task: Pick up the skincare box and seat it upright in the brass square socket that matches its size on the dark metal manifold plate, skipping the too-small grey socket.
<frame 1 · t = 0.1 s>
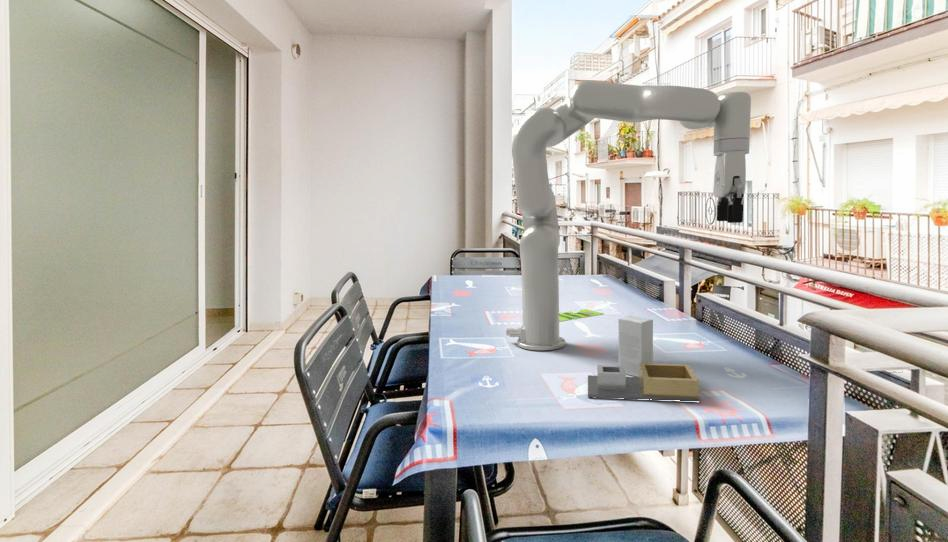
hand: (729, 221, 125), 31 cm above the table, tool pointing down, fingers open, 9 cm apart
manifold plate: (640, 390, 103), on the table
skincare box: (635, 374, 113), on the table
door hanger: (565, 318, 171), on the table
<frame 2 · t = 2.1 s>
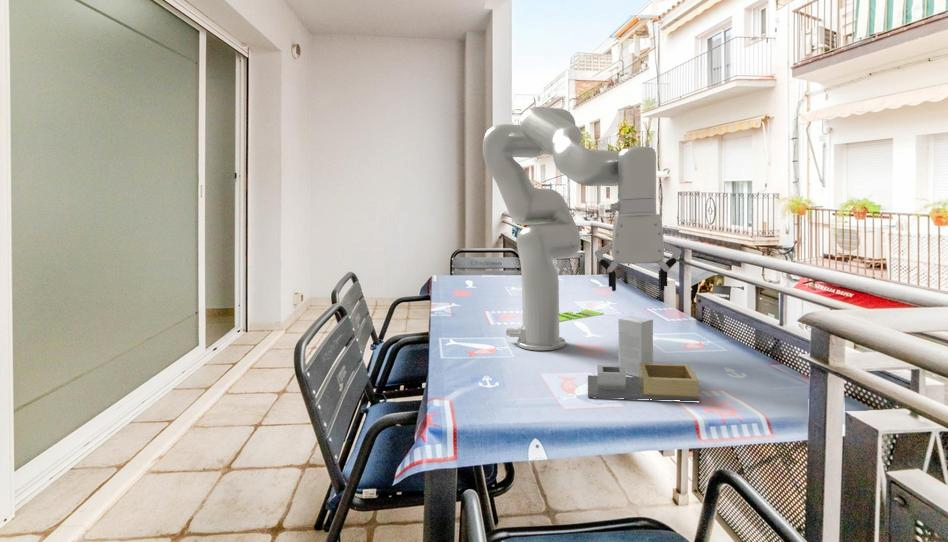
hand: (637, 290, 111), 18 cm above the table, tool pointing down, fingers open, 9 cm apart
nothing on the table moved.
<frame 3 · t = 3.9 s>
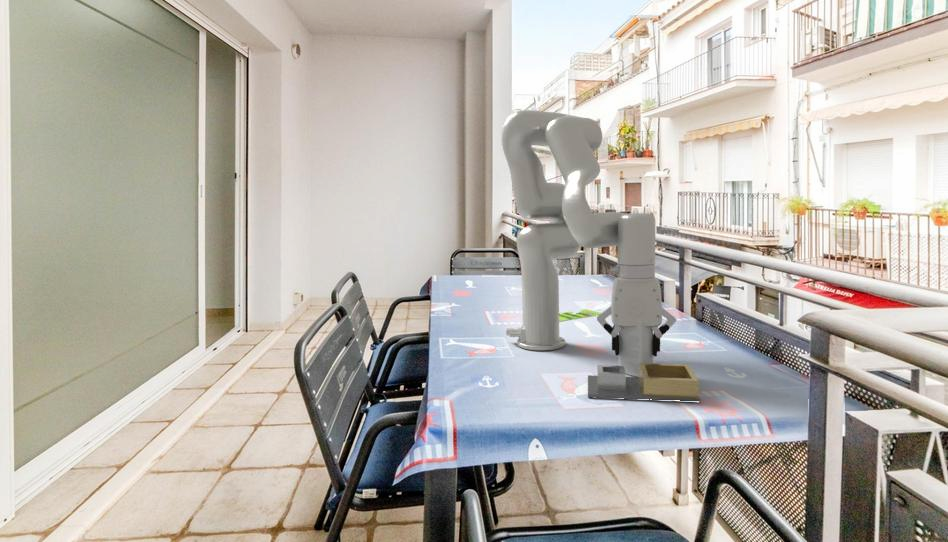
hand: (635, 353, 113), 4 cm above the table, tool pointing down, fingers closed on skincare box, 7 cm apart
skincare box: (635, 374, 113), on the table, touching gripper
everything else where it was.
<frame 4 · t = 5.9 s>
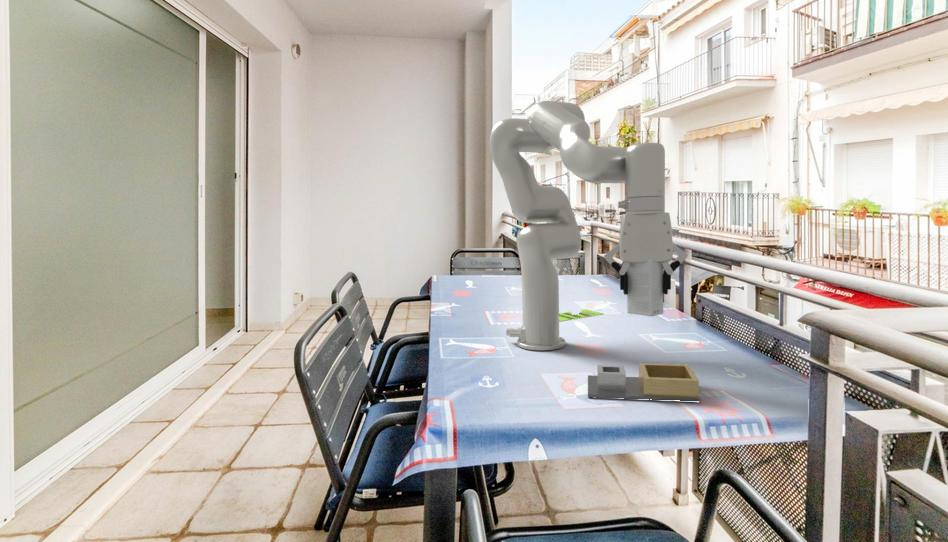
hand: (645, 292, 108), 18 cm above the table, tool pointing down, fingers closed on skincare box, 7 cm apart
skincare box: (644, 314, 108), point 14 cm above the table, touching gripper
everything else where it was.
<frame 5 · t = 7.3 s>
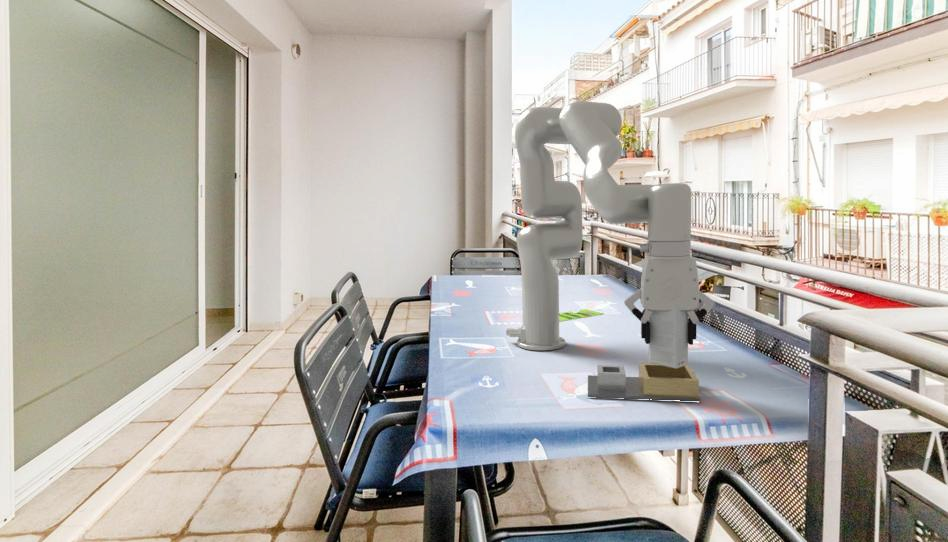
hand: (668, 341, 101), 10 cm above the table, tool pointing down, fingers closed on skincare box, 7 cm apart
skincare box: (667, 364, 101), point 5 cm above the table, touching gripper
everything else where it was.
when the fingers open (7 cm above the table, at t = 8.4 s): skincare box drops 1 cm, resting on manifold plate.
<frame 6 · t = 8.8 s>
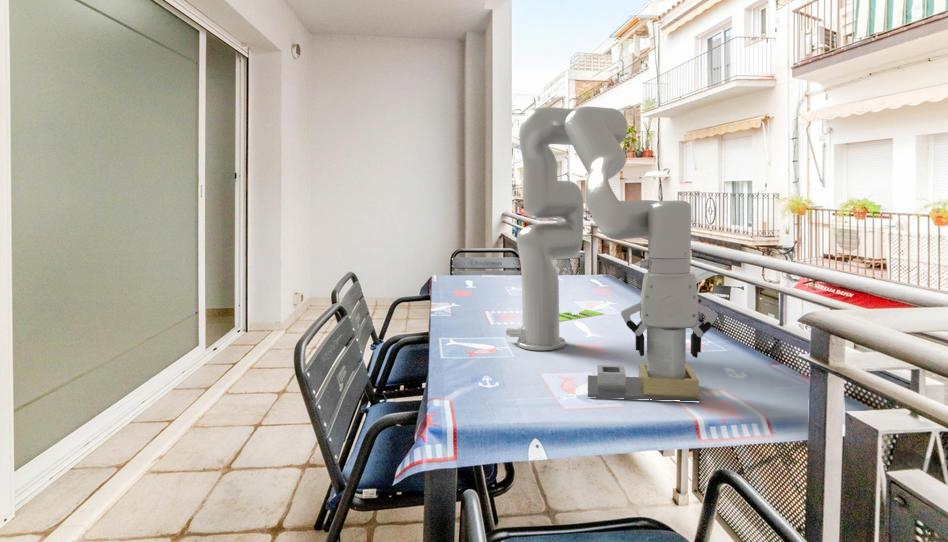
hand: (667, 354, 101), 7 cm above the table, tool pointing down, fingers open, 9 cm apart
skincare box: (665, 388, 102), point 1 cm above the table, touching manifold plate
everything else where it was.
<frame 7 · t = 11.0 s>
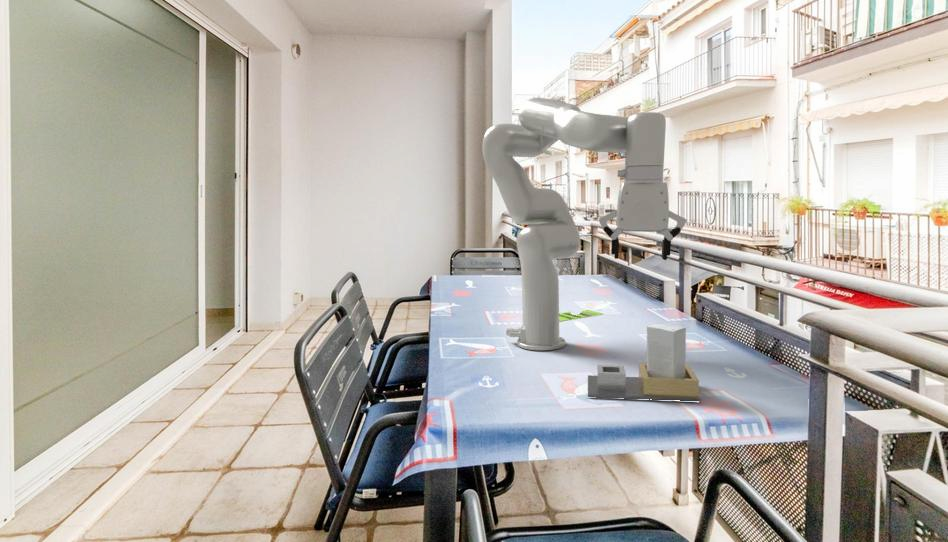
hand: (640, 258, 110), 25 cm above the table, tool pointing down, fingers open, 9 cm apart
nothing on the table moved.
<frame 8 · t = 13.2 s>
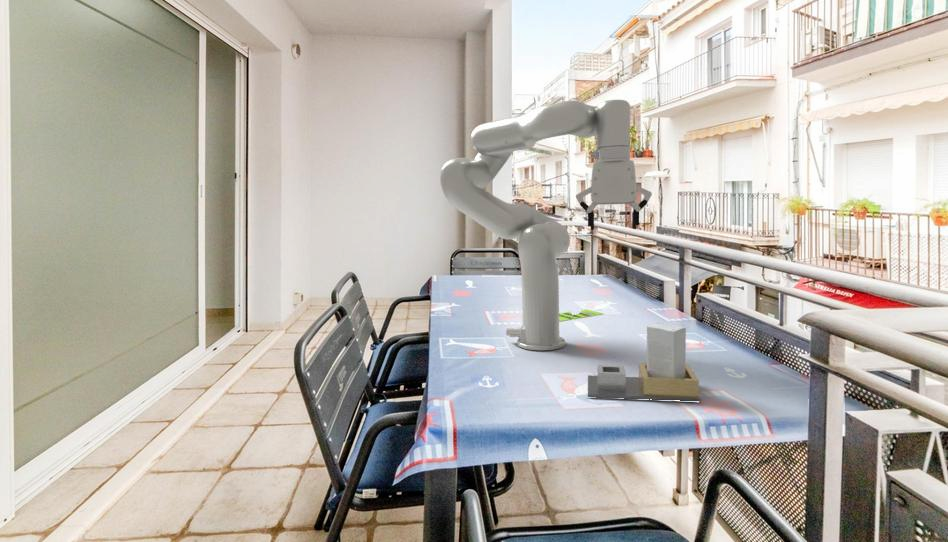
hand: (613, 229, 125), 30 cm above the table, tool pointing down, fingers open, 9 cm apart
nothing on the table moved.
at the end: skincare box 0.3 cm from the target spot on the manifold plate, point 0.6 cm above the manifold plate's base; skincare box tilted 0°; the gripper is holding nothing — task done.
